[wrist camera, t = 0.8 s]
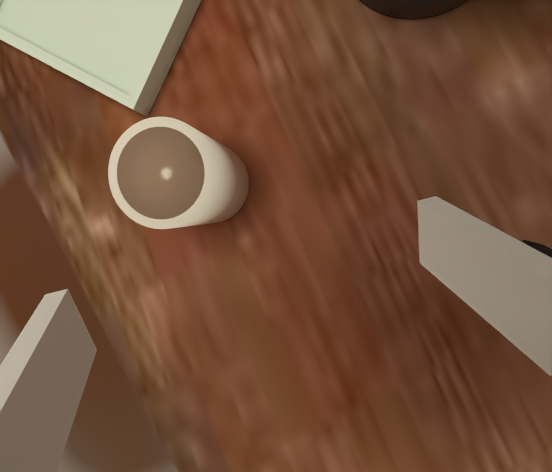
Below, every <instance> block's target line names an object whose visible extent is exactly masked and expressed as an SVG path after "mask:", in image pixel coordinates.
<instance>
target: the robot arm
mask: <svg viewBox="0 0 552 472" xmlns="http://www.w3.org/2000/svg"><path fill="white" fill-rule="evenodd" d="M361 1H362V2H363V3H364V4H366V5H367V6H369V7H370V8H372V9H374V10H376V11H378V12H380V13H382V14H385V15H388V16H392V17H397V18H404V19H419V18H426V17H431V16H435V15H439V14H441V13H444V12H447V11H449V10H451V9H453V8H455V7H457V6H458V5H460V4H462V3H463V2H465V1H466V0H361ZM417 205H418V232H419V260H420V264H421V265H422V266H424V267H425V268H426V269H427V270H428V271H429V272H431V273H432V274H433V275H434V276H435V277H436V278H437V279H439V280H440V281H441V282H442V283H443V284H444V285H446V286H447V287H448V288H449V289H450V290H451V291H453V292H454V293H455V294H456V295H457V296H458V297H459V298H461V299H462V300H463V301H464V302H465V303H466V304H468V305H469V306H470V307H471V308H472V309H473V310H474V311H476V312H477V313H478V314H479V315H480V316H481V317H483V318H484V319H485V320H486V321H487V322H488V323H489V324H491V325H492V326H493V327H494V328H495V329H496V330H498V331H499V332H500V333H501V334H502V335H503V336H505V337H506V338H507V339H508V340H509V341H510V342H511V343H513V344H514V345H515V346H516V347H517V348H518V349H520V350H521V351H522V352H523V353H524V354H525V355H526V356H528V357H529V358H530V359H531V360H532V361H533V362H535V363H536V364H537V365H538V366H539V367H540V368H541V369H543V370H544V371H545V372H546V373H547V374H548V375H550V376H552V249H550V248H548V247H547V246H545V245H542V244H538V243H534V242H530V241H527V240H523V241H519V240H517V239H515V238H513V237H511V236H510V235H508V234H506V233H504V232H502V231H500V230H498V229H496V228H495V227H493V226H491V225H489V224H487V223H485V222H483V221H482V220H480V219H478V218H476V217H474V216H472V215H470V214H468V213H467V212H465V211H463V210H461V209H459V208H457V207H455V206H453V205H452V204H450V203H448V202H446V201H444V200H442V199H440V198H439V197H437V196H434V197H430V198H426V199H422V200H418V201H417ZM96 351H97V350H96V347H95V345H94V343H93V341H92V339H91V337H90V335H89V332H88V330H87V328H86V326H85V324H84V322H83V320H82V318H81V316H80V313H79V312H78V309H77V307H76V305H75V303H74V301H73V299H72V297H71V295H70V293H69V290H68V289H66V290H61V291H57V292H54V293H49V294H46V295H45V296H44V298H43V299H42V301H41V302H40V304H39V305H38V307H37V309H36V310H35V312H34V313H33V315H32V316H31V318H30V320H29V321H28V323H27V324H26V326H25V327H24V329H23V331H22V332H21V334H20V335H19V337H18V338H17V340H16V342H15V343H14V345H13V346H12V348H11V349H10V351H9V353H8V354H7V356H6V357H5V359H4V361H3V362H2V364H1V365H0V472H57V469H58V466H59V463H60V460H61V457H62V454H63V451H64V448H65V445H66V442H67V438H68V435H69V433H70V430H71V426H72V423H73V420H74V417H75V414H76V411H77V408H78V405H79V402H80V399H81V396H82V393H83V390H84V387H85V384H86V381H87V378H88V375H89V372H90V369H91V366H92V363H93V360H94V357H95V354H96Z"/></svg>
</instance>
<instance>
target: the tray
mask: <svg viewBox="0 0 552 472" xmlns="http://www.w3.org/2000/svg"><path fill="white" fill-rule="evenodd" d="M200 2H201V0H0V39H1V40H2V41H4V42H6V43H8V44H10V45H12V46H14V47H16V48H18V49H19V50H21V51H23V52H25V53H27V54H29V55H31V56H33V57H35V58H36V59H38V60H40V61H42V62H44V63H46V64H48V65H50V66H52V67H53V68H55V69H57V70H59V71H61V72H63V73H65V74H67V75H69V76H70V77H72V78H74V79H76V80H78V81H80V82H82V83H84V84H86V85H87V86H89V87H91V88H93V89H95V90H97V91H99V92H101V93H103V94H104V95H106V96H108V97H110V98H112V99H114V100H116V101H118V102H120V103H121V104H123V105H125V106H127V107H129V108H131V109H133V110H135V111H137V112H139V113H141V114H143V115H145V116H147V117H148V115H149V112H150V110H151V108H152V106H153V104H154V102H155V99H156V97H157V95H158V93H159V91H160V89H161V87H162V84H163V82H164V80H165V78H166V76H167V74H168V71H169V69H170V67H171V65H172V63H173V61H174V58H175V56H176V54H177V52H178V50H179V48H180V45H181V43H182V41H183V39H184V37H185V35H186V32H187V30H188V28H189V26H190V24H191V22H192V20H193V17H194V15H195V13H196V11H197V9H198V7H199V4H200Z"/></svg>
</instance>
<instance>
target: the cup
mask: <svg viewBox="0 0 552 472" xmlns="http://www.w3.org/2000/svg"><path fill="white" fill-rule="evenodd" d="M108 178H109V185H110V189H111V192H112V194H113V197H114V199H115V201H116V203H117V204H118V206H119V207H120V208H121V210H122V211H123V212H124V213H125V214H126V215H127V216H128V217H129V218H131V219H132V220H134V221H135V222H137V223H139V224H141V225H143V226H146V227H149V228H154V229H169V228H177V227H186V226H194V225H202V224H210V223H218V222H222V221H225V220H227V219H229V218H231V217H232V216H233V215H235V214H236V213H237V212H238V211H239V210H240V208H241V207H242V206H243V204H244V202H245V200H246V198H247V194H248V190H249V177H248V173H247V170H246V167H245V165H244V163H243V161H242V160H241V159H240V157H239V156H238V155H237V154H236V153H235V152H233V151H232V150H230V149H229V148H227V147H225V146H224V145H222V144H220V143H219V142H217V141H215V140H213V139H212V138H210V137H208V136H207V135H205V134H203V133H201V132H200V131H198V130H196V129H195V128H193V127H191V126H189V125H188V124H186V123H184V122H182V121H180V120H177V119H174V118H169V117H153V118H148V119H144V120H142V121H140V122H137V123H136V124H134V125H133V126H131V127H130V128H129V129H127V130H126V131H125V132H124V133H123V134H122V135H121V137H120V138H119V139H118V141H117V142H116V144H115V146H114V148H113V151H112V153H111V156H110V160H109V167H108Z"/></svg>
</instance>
